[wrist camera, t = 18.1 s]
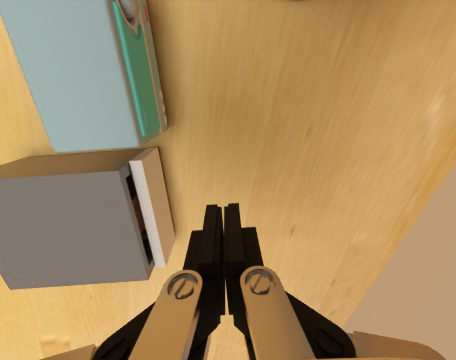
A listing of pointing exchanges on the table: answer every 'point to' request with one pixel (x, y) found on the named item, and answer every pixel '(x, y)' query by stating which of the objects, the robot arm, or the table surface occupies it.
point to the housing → (70, 221)
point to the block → (136, 207)
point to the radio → (89, 70)
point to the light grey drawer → (153, 204)
